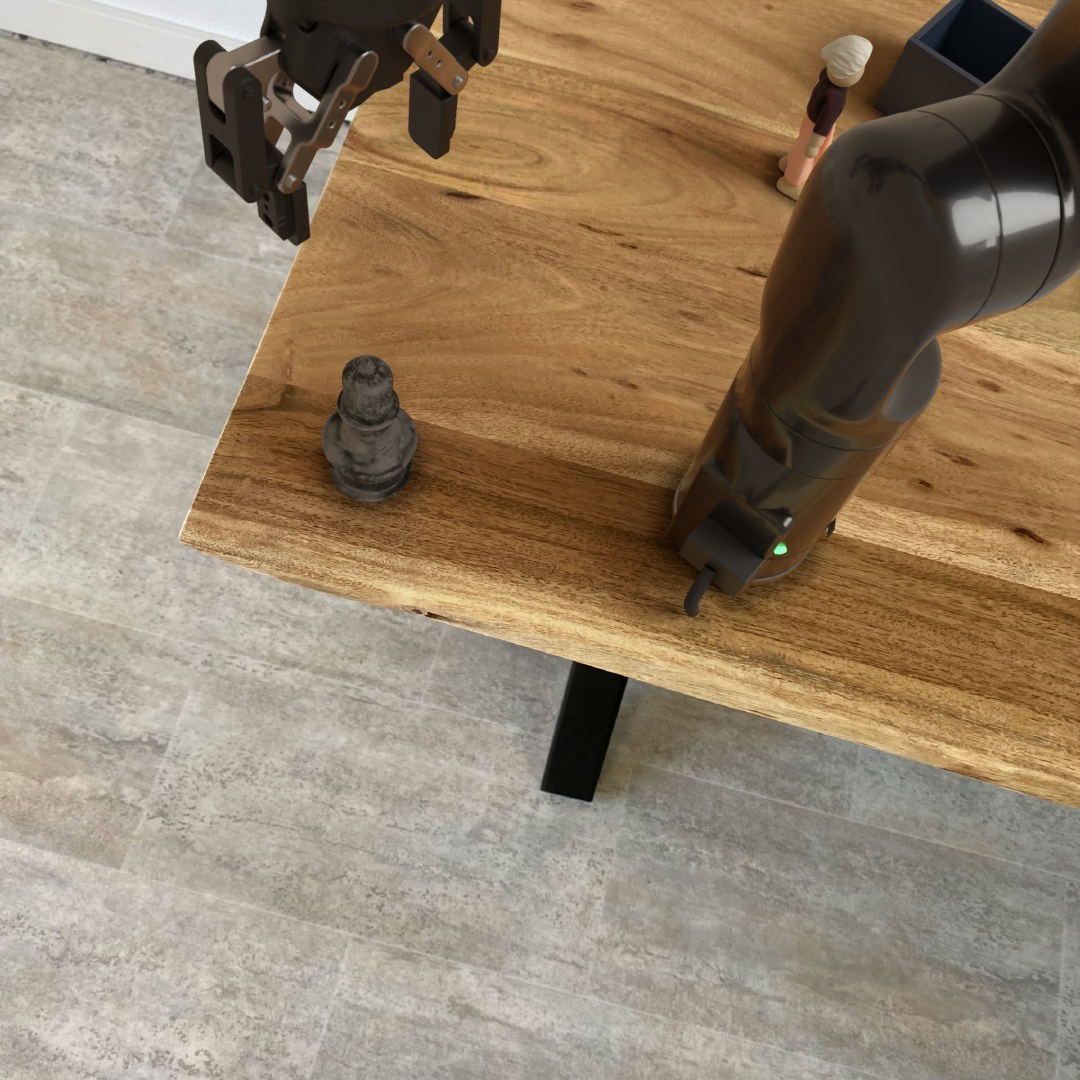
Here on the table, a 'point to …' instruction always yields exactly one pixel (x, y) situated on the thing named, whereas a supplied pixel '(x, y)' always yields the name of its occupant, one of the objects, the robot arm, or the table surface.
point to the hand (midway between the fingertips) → (361, 187)
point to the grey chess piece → (369, 434)
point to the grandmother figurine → (823, 110)
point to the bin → (953, 55)
